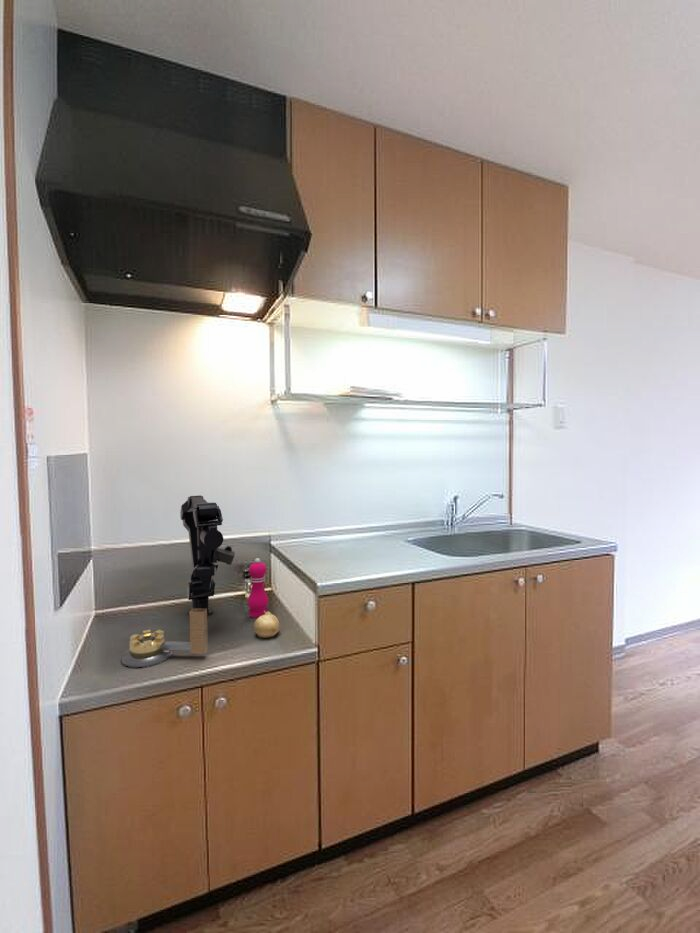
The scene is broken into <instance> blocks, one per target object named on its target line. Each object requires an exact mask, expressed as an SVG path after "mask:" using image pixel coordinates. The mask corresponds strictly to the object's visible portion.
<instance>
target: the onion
mask: <svg viewBox="0 0 700 933" xmlns="http://www.w3.org/2000/svg"><path fill="white" fill-rule="evenodd" d="M264 612H265V611H264ZM253 628H254V632H255V633H256V635H257V636H258V637H259V638H263V639H268V638H272V637H274V636H276V634H278V632H279V630H280V622H279V620H278V618H277V616H275V615H274V614H272V612H270V611H267V612H265V615H262V616H260V617H259V618H256V620H255V621H254V624H253Z"/></svg>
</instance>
